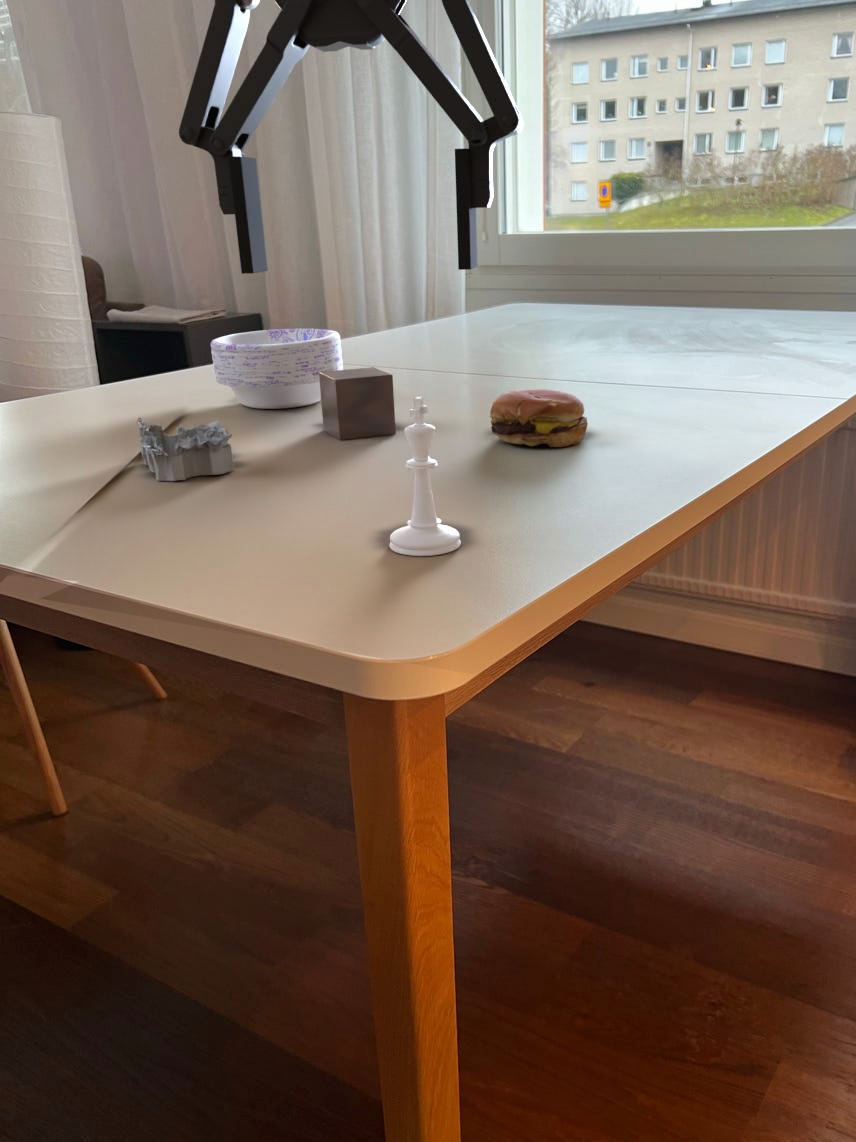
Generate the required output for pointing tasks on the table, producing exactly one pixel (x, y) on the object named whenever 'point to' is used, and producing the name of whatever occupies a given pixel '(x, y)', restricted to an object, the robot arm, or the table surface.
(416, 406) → the chess piece
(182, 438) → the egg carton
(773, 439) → the table surface
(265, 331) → the paper bowls
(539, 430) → the burger
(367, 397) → the walnut block
